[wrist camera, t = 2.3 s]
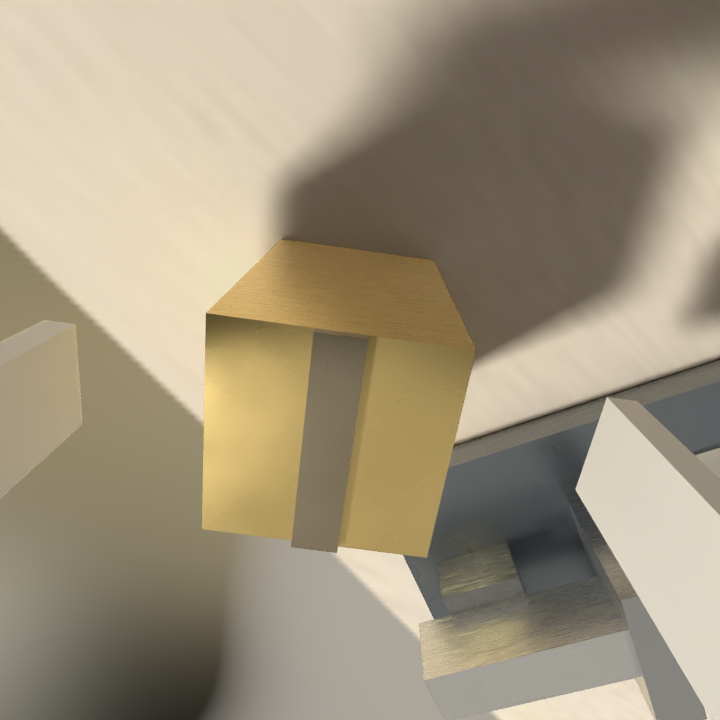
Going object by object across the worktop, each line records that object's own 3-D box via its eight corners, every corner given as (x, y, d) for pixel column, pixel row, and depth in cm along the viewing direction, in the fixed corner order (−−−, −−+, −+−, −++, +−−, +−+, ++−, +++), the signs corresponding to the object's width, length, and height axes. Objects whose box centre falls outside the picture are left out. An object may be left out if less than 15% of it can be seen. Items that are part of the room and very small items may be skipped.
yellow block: (281, 238, 17) (203, 317, 9) (433, 260, 17) (478, 354, 9) (271, 377, 19) (199, 534, 11) (408, 395, 19) (427, 564, 11)
